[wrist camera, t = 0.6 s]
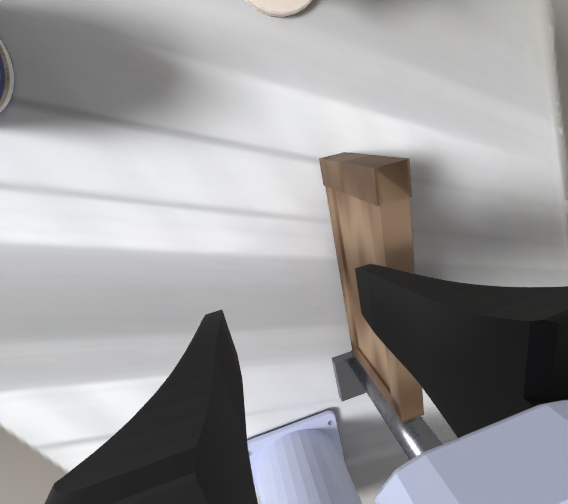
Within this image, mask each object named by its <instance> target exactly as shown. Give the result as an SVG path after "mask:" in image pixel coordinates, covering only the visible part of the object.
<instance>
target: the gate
mask: <svg viewBox="0 0 568 504" xmlns="http://www.w3.org/2000/svg"><path fill="white" fill-rule="evenodd" d="M319 160H320V166H321V172H322V178H323V184H324V186H325V187H326V193H327V199H328V205H329V211H330V217H331V223H332V229H333V235H334V241H335V247H336V254H337V260H338V266H339V272H340V278H341V284H342V290H343V296H344V302H345V308H346V314H347V320H348V326H349V333H350V339H351V345H352V351H353V354H354V355H355V356H356V358H357V359H358V361H359V362H360V364H361V365H362V366H363V368H364V369H365V371H366V372H367V374H368V375H369V377H370V378H371V379H372V381H373V382H374V384H375V385H376V387H377V388H378V389H379V391H380V392H381V394H382V395H383V397H384V398H385V399H386V401H387V402H388V404H389V405H390V407H391V408H392V409H393V411H394V412H395V414H396V415H397V417H398V418H399V419H400V421H401V422H402V423H404V422H407V421H409V420H412V419H414V418H417V417H419V416H422V415H424V409H423V394H422V386H421V385H420V384H419V383H418V382H417V380H416V379H415V378H414V377H413V376H412V374H411V373H410V372H409V371H408V370H407V369H406V368H405V367H404V366H403V365H402V363H401V362H400V361H399V360H398V359H397V358H396V357H395V356H394V355H393V353H392V352H391V351H390V350H389V349H388V348H387V347H386V346H385V345H384V343H383V342H382V341H381V340H380V339H379V338H378V337H377V336H376V334H375V333H374V332H373V330H372V329H371V327H370V326H369V325H368V323H367V321H366V320H365V318H364V317H363V315H362V314H361V308H360V301H359V294H358V287H357V280H356V273H355V268H358V267H361V266H364V265H367V264H375V265H380V266H384V267H388V268H392V269H396V270H400V271H404V272H408V273H412V274H415V272H414V257H413V241H412V226H411V211H410V197H412V193H411V178H410V162H409V159H408V158H397V157H387V156H377V155H366V154H356V153H346V152H344V153H340V154H336V155H332V156H328V157H324V158H320V159H319Z"/></svg>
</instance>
